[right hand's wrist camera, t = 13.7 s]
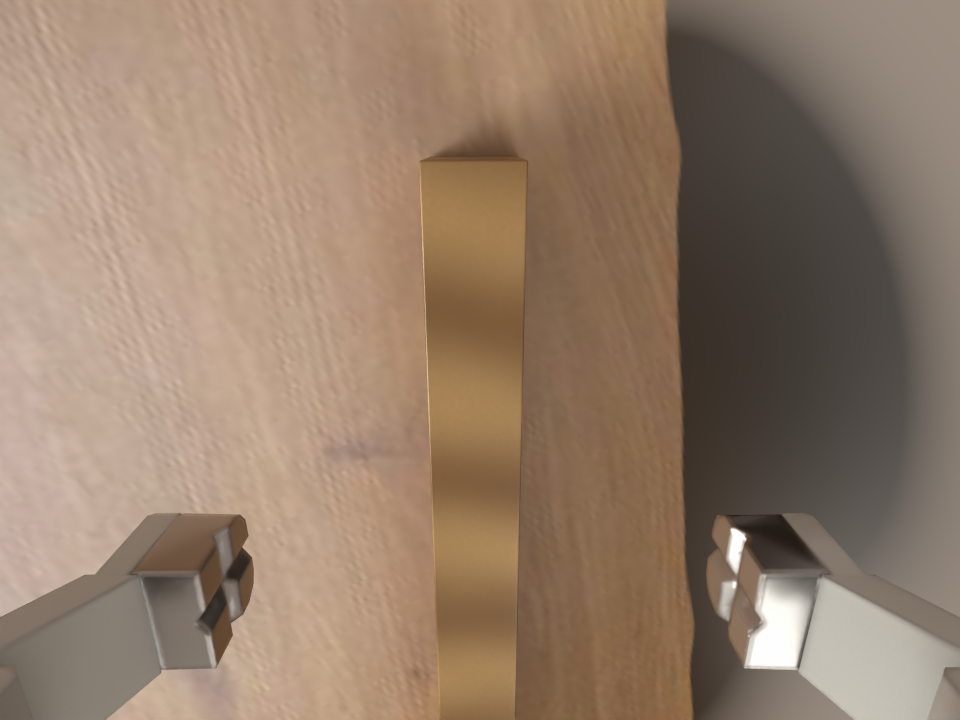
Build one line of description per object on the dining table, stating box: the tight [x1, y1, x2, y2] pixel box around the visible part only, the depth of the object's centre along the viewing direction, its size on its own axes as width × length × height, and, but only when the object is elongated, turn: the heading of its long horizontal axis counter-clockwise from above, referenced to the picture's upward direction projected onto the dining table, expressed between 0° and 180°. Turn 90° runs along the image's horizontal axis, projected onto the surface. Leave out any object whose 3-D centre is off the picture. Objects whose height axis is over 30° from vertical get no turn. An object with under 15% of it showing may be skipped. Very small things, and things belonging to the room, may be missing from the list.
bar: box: [419, 156, 528, 720], centre depth 41 cm, size 70×5×6 cm, turn 0°
